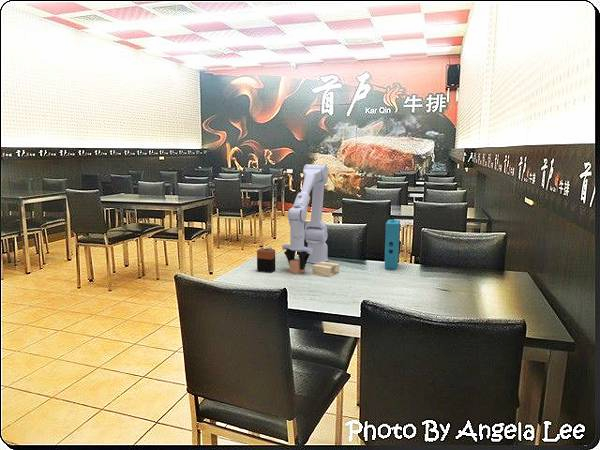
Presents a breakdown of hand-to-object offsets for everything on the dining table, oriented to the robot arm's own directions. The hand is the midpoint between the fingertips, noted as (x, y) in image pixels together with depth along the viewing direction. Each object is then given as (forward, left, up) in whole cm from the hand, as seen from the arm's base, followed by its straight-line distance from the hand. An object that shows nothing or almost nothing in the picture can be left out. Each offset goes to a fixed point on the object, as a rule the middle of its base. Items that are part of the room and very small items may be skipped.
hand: (297, 268), depth 185 cm
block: (-31, +28, -2) cm, 42 cm away
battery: (+7, -11, -2) cm, 13 cm away
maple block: (-5, +11, -2) cm, 12 cm away
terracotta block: (0, 0, -2) cm, 2 cm away
